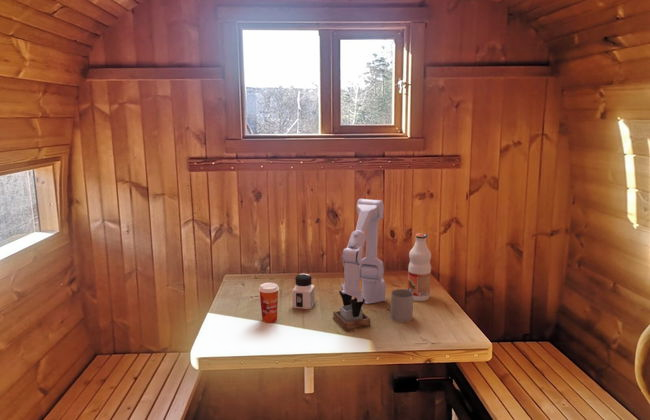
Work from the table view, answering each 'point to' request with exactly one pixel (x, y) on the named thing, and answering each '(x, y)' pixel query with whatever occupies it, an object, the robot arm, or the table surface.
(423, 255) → the fruit juice
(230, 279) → the table surface
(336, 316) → the walnut crate
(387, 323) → the table surface
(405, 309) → the cup
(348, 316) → the gray crate
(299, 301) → the container
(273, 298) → the paper cup
